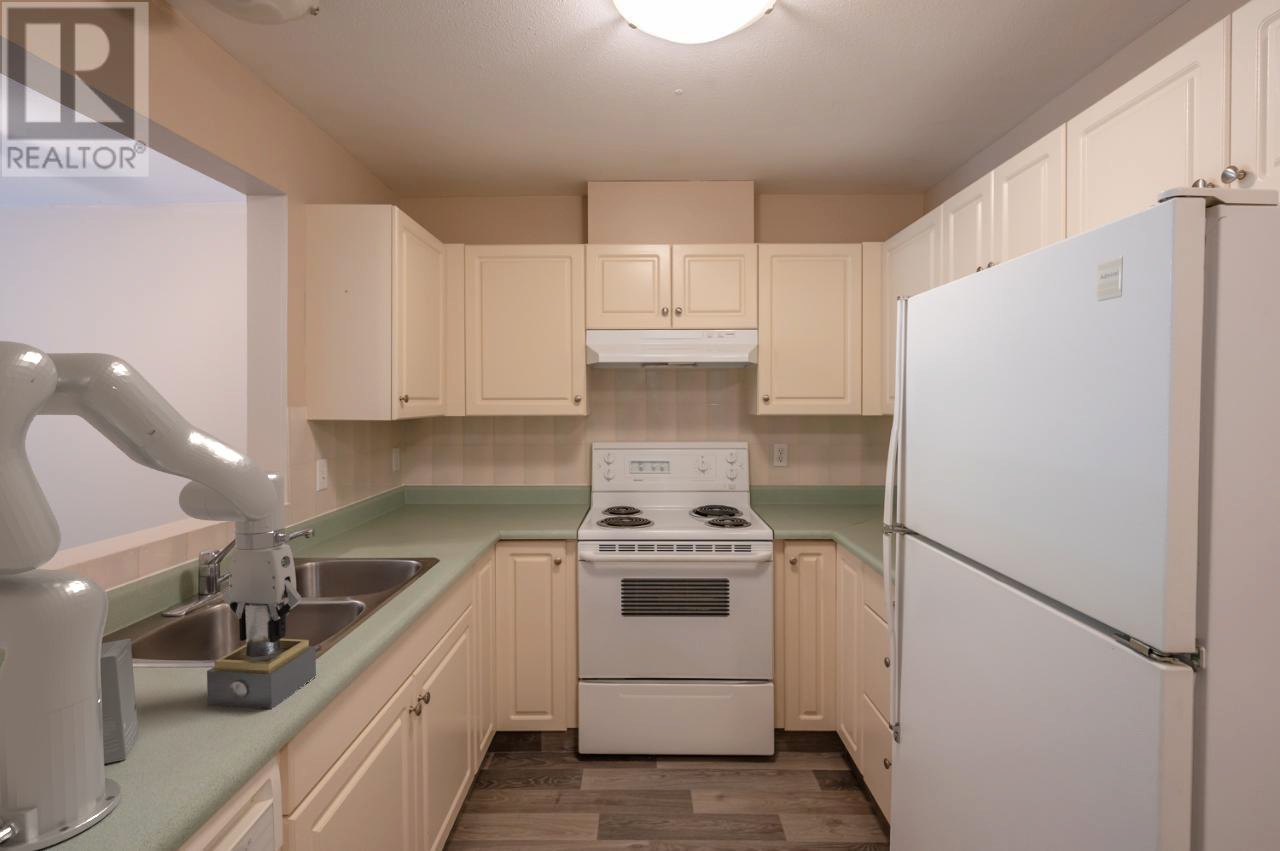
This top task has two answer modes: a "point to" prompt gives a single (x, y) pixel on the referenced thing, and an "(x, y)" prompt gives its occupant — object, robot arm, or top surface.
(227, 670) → the grey gold trimmed box
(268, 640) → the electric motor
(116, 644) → the skincare box
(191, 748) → the top surface
